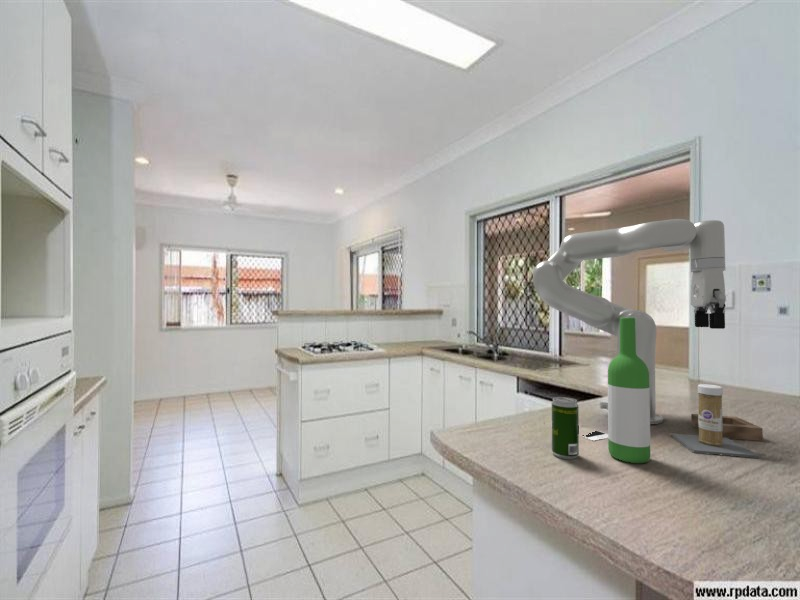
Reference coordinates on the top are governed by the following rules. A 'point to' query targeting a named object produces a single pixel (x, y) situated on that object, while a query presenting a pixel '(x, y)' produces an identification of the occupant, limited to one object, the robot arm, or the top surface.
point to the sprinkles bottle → (710, 414)
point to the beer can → (565, 428)
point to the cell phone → (596, 435)
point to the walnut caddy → (735, 428)
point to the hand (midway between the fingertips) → (709, 327)
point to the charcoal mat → (725, 449)
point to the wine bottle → (628, 400)
